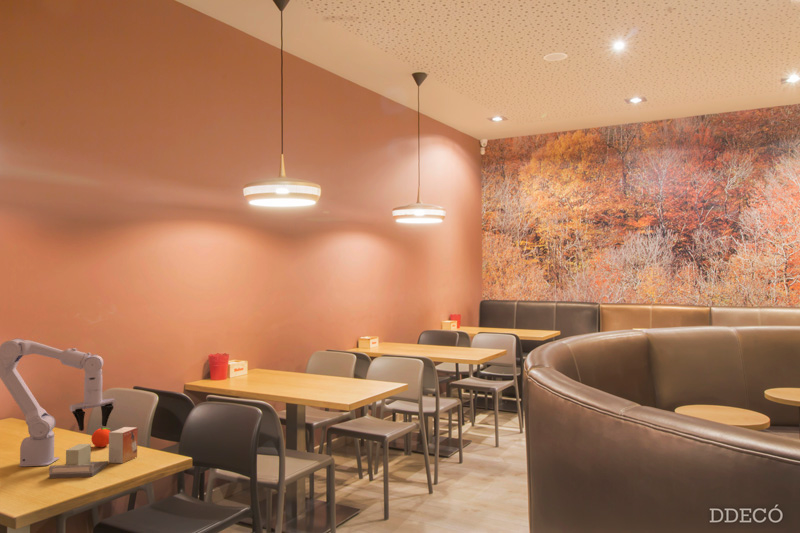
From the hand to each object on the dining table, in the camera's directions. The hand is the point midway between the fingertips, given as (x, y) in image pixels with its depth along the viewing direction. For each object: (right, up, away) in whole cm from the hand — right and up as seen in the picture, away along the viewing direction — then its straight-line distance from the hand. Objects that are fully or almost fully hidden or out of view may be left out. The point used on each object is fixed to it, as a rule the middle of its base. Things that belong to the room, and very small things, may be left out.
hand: (92, 428), depth 198 cm
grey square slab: (+4, -10, -15) cm, 18 cm away
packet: (+4, -9, -16) cm, 19 cm away
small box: (+12, -10, -3) cm, 17 cm away
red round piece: (-4, -11, +13) cm, 18 cm away
